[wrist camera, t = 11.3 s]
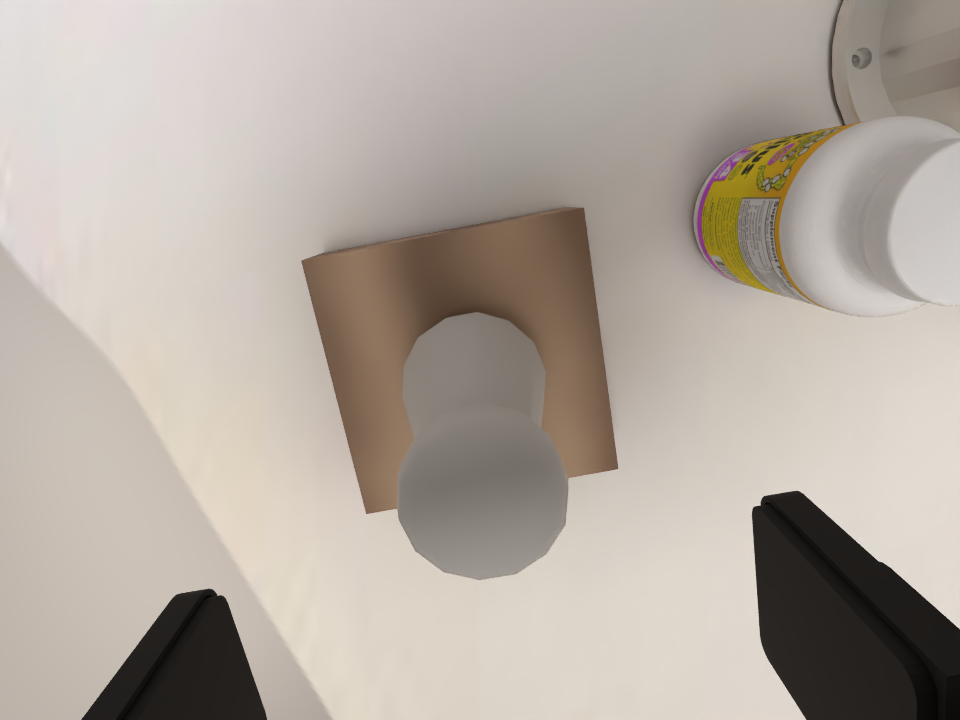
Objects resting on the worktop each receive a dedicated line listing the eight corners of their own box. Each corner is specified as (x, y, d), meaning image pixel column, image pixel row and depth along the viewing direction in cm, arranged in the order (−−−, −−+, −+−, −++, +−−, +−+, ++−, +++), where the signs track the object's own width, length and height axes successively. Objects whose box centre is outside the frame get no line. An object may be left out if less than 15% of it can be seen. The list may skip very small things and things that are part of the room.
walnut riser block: (567, 207, 29) (583, 207, 25) (599, 436, 32) (618, 468, 28) (323, 253, 29) (301, 260, 25) (378, 476, 32) (366, 513, 28)
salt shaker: (458, 452, 27) (454, 665, 15) (380, 355, 26) (304, 495, 13) (563, 380, 27) (654, 538, 14) (489, 276, 25) (515, 347, 13)
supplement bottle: (820, 130, 28) (1106, 71, 16) (826, 268, 30) (1088, 315, 17) (680, 158, 28) (852, 122, 16) (694, 294, 30) (859, 360, 17)
